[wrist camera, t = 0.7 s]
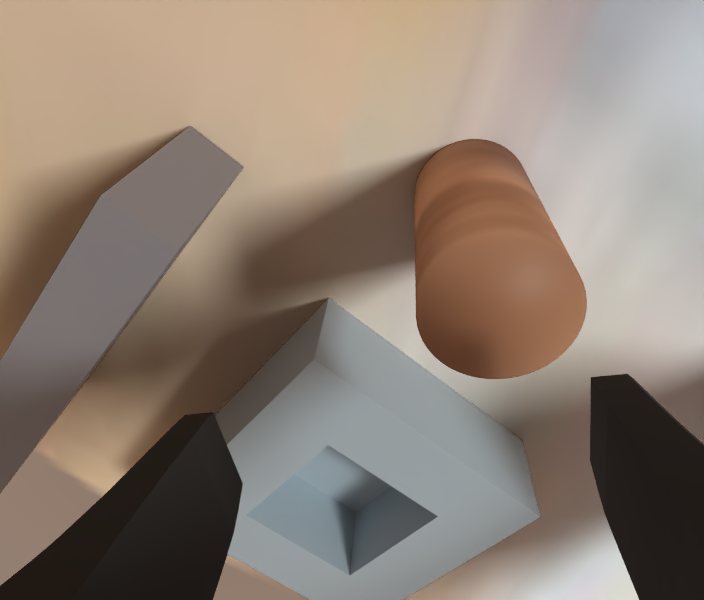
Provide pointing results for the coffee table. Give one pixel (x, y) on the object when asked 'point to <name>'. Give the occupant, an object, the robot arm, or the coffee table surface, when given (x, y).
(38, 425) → the charcoal wall
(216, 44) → the coffee table surface
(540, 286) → the dowel
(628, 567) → the robot arm
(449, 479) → the socket block
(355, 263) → the coffee table surface
